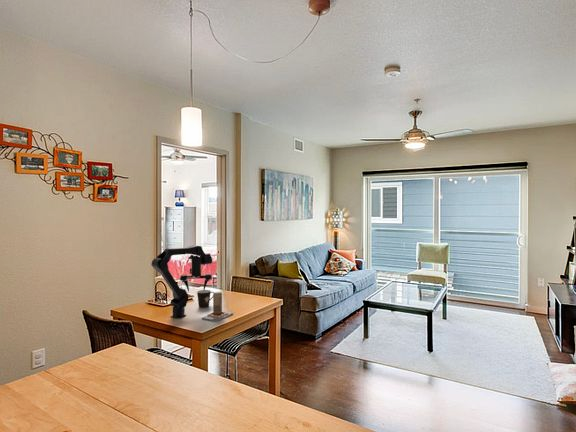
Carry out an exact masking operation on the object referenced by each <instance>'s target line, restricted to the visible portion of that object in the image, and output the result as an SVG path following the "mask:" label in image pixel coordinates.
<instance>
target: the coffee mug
mask: <svg viewBox="0 0 576 432" xmlns="http://www.w3.org/2000/svg"><path fill="white" fill-rule="evenodd" d="M196 293H197V294H196V296H197V301H198V302H197V303H198V308H200V309H206V308H209V307H210V301H211V300H213V296H212V297H211V293H212V294H213V293H215V292H214V291H211V290H209V289H205V290H204V289H201V290H197V291H196Z"/></svg>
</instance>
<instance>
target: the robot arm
mask: <svg viewBox="0 0 576 432" xmlns="http://www.w3.org/2000/svg"><path fill="white" fill-rule="evenodd" d="M178 255H179V256H180V255H190V256H189V257H188V258H187V259H188V260H190V261H191V265H190V268H189V274H190V275H188V274H186V273H185V274H181V275H180V277H179V281H181V282H182V283H184V285H185V287H186V289H184V288H181V287H180V286H179V284H178V282H177V281H176V279H175V278H174V277H173V275H172V273H171V272H170V270H169V265H168V263H169V262H170V260H171V258H172V256H178ZM212 263H213V257H212V255H211V253H205V252H204V249H203V247H202V246H201V245H193V244H192V245H190V246H189V245H188V246H187V247H178V248H177V247H175V248H165V249H164V250H163V251H162V252H161V253H159V254H158V255H157V256H156V257H155V258H152V260H151V266H152V268H153V269H154V270H155V271H157V272H158V273H159V274H160V275H161V276H162V278H163V280H164V281H165V282H166V285H167V286H168V287H169V289H170V290H171V292H172V297H173V298H172V299H171V300H170V302H169V303H170V306H171V307H172V315H171V316H170V318H173V319H180V318H183V317H186V316H187V314H185V308H186V306H187V304H188V301H189V297H190V296H189V293H188V292H190V285H189V279H190V280H191V279H193V280H195V279H199V280H200V279H204V283H203V290H206V286H207V283H208V282H210V281H211V280H212V279H213V274H212V273H205V274H203V275H202V266H206V265H211V264H212ZM186 290H187V291H186Z"/></svg>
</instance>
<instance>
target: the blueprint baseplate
mask: <svg viewBox="0 0 576 432" xmlns="http://www.w3.org/2000/svg"><path fill="white" fill-rule="evenodd" d="M233 315H234V312H230V311H224V310H222V315H219V316H217V315H213V311H212V312H209V313H207V315H205V316H202V317H201V320H204V321H209V322H215V323H218V322H220V321H221V320H224V319H227V318H228V317H231V316H233Z"/></svg>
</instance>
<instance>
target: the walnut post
mask: <svg viewBox="0 0 576 432" xmlns="http://www.w3.org/2000/svg"><path fill="white" fill-rule="evenodd" d="M212 297H213V298H212V304H213V305H212V307H213V308H212V309H213V311H212V312H213V315H217V316H219V315H222V311H223V293H222V292H221V291H215V292H214V293H212Z"/></svg>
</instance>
